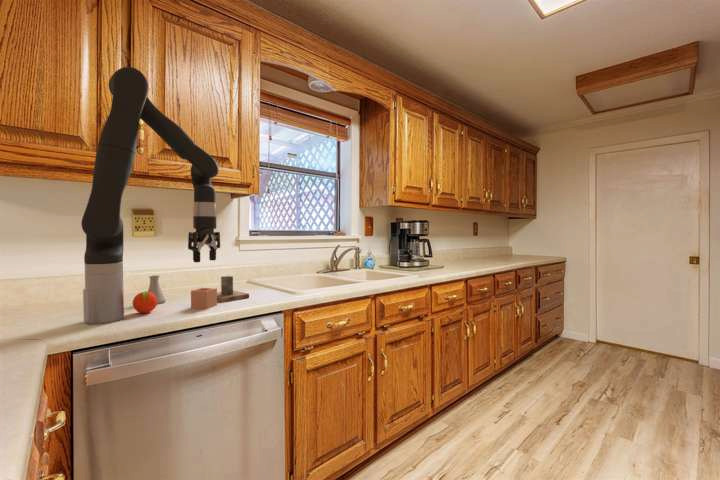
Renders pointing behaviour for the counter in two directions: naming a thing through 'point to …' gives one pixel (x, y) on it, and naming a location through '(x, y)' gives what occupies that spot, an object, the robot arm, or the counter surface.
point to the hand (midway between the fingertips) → (205, 261)
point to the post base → (229, 297)
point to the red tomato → (144, 302)
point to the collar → (204, 298)
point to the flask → (156, 289)
